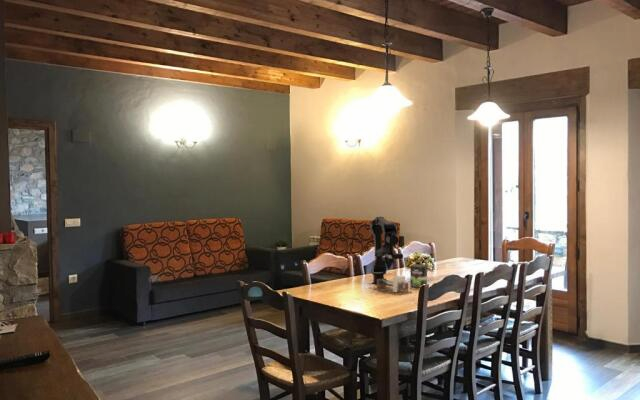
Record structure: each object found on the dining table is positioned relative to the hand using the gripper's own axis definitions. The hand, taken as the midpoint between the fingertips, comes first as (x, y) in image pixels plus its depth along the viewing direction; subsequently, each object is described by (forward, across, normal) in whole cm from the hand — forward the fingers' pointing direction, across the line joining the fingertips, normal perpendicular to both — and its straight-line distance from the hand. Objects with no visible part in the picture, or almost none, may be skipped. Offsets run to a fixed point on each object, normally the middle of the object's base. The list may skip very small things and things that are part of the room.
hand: (388, 269), depth 320 cm
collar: (+13, +9, 0) cm, 16 cm away
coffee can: (+13, +7, +19) cm, 24 cm away
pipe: (+13, +3, 0) cm, 13 cm away
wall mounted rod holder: (+13, +3, 0) cm, 13 cm away
